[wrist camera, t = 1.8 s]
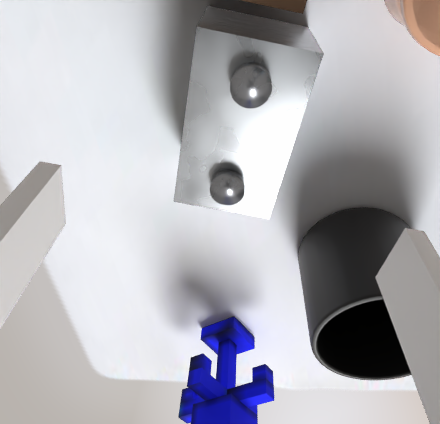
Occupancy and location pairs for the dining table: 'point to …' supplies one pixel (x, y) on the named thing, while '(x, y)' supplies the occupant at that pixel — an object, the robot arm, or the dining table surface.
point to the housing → (243, 110)
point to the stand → (282, 4)
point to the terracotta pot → (419, 20)
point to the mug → (351, 294)
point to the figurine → (224, 380)
